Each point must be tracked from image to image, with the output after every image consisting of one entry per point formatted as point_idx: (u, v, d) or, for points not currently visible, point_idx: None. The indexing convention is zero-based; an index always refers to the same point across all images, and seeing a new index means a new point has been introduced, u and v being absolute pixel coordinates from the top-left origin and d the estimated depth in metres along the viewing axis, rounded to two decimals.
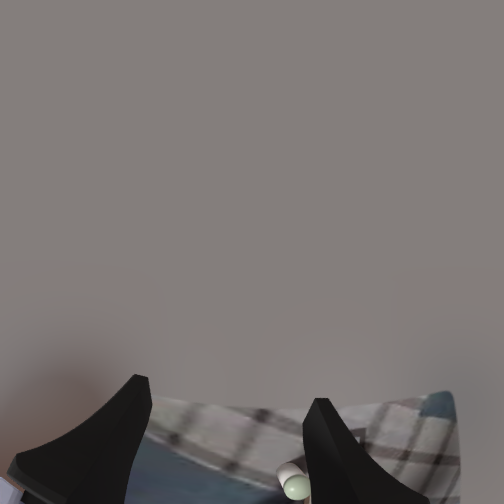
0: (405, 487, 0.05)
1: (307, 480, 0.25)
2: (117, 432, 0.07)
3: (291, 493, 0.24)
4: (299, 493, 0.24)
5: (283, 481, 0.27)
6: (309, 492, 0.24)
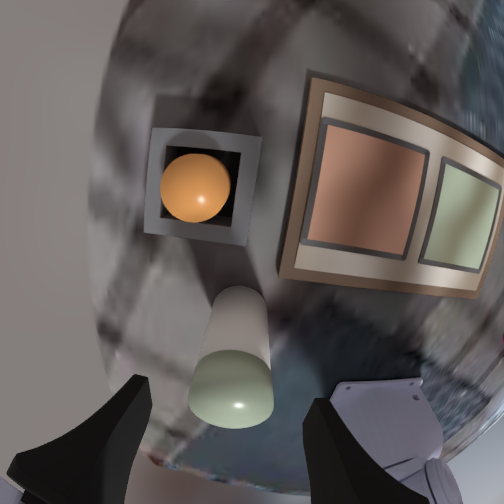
0: (405, 487, 0.05)
1: (198, 388, 0.10)
2: (117, 432, 0.07)
3: (241, 420, 0.11)
4: (245, 408, 0.10)
5: None
6: (251, 388, 0.10)
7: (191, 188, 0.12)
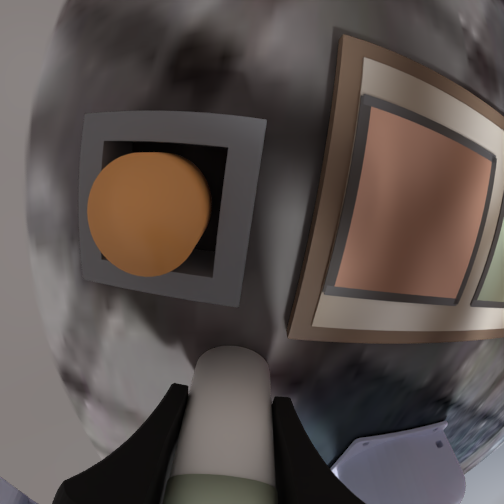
0: (357, 499, 0.05)
1: None
2: (166, 445, 0.07)
3: None
4: None
5: None
6: None
7: (136, 216, 0.06)
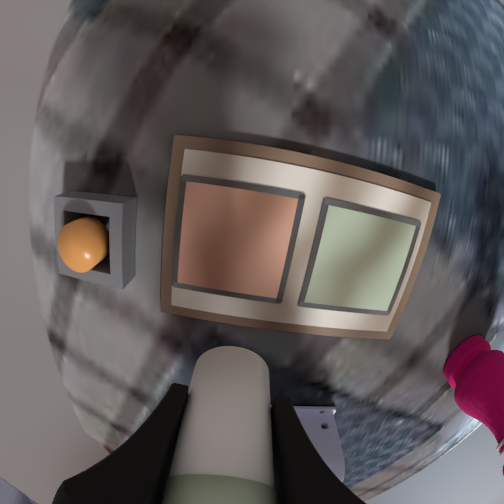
0: (357, 499, 0.05)
1: None
2: (166, 445, 0.07)
3: None
4: None
5: None
6: None
7: (75, 248, 0.14)
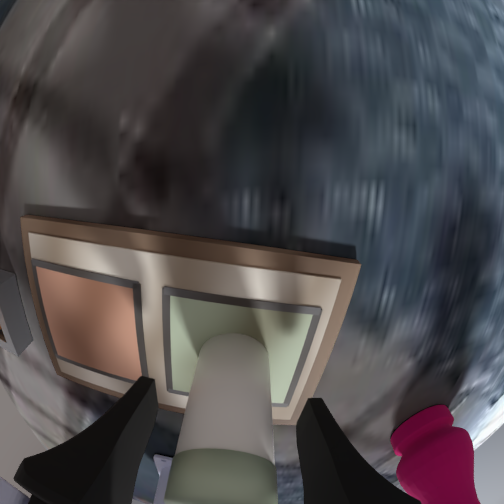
0: (397, 489, 0.05)
1: (177, 497, 0.05)
2: (125, 434, 0.07)
3: None
4: None
5: None
6: (251, 503, 0.05)
7: None
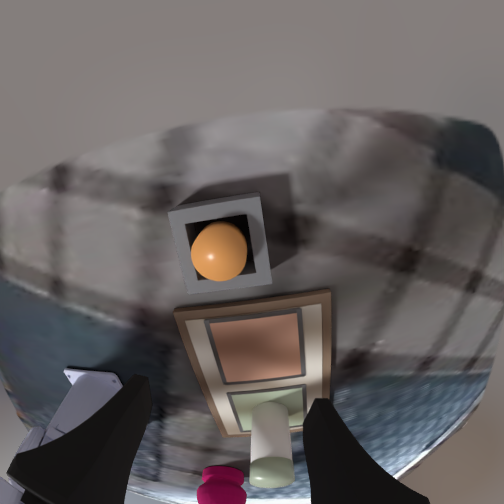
0: (405, 487, 0.05)
1: (284, 475, 0.16)
2: (117, 432, 0.07)
3: (260, 484, 0.17)
4: (272, 483, 0.17)
5: (251, 457, 0.18)
6: (288, 482, 0.17)
7: (218, 254, 0.16)
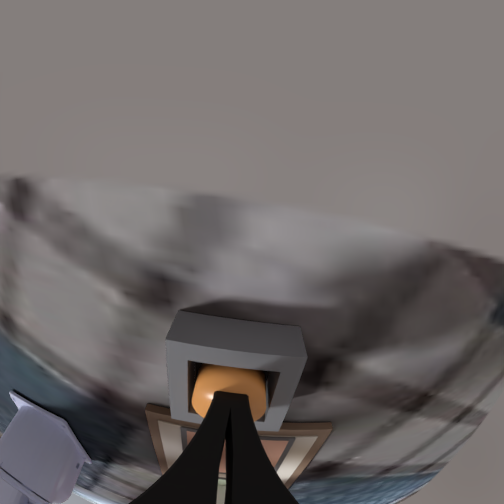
0: None
1: None
2: (220, 455, 0.07)
3: None
4: None
5: None
6: None
7: None
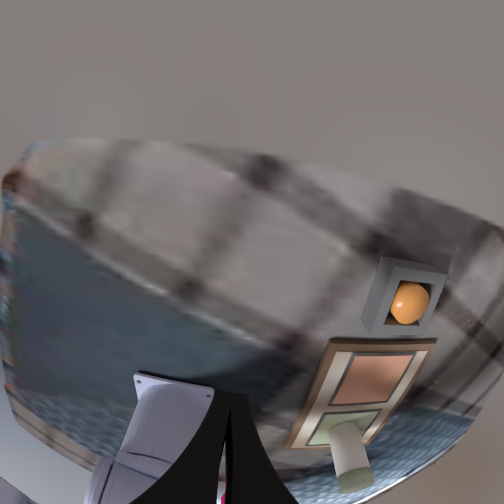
0: None
1: (372, 481, 0.17)
2: (220, 455, 0.07)
3: (345, 490, 0.18)
4: (353, 489, 0.18)
5: (341, 468, 0.20)
6: (364, 488, 0.18)
7: (412, 305, 0.18)
